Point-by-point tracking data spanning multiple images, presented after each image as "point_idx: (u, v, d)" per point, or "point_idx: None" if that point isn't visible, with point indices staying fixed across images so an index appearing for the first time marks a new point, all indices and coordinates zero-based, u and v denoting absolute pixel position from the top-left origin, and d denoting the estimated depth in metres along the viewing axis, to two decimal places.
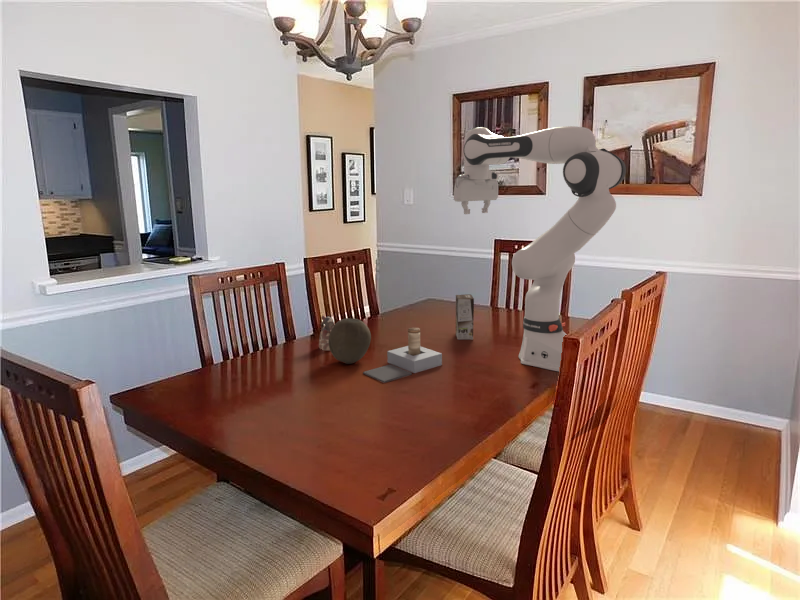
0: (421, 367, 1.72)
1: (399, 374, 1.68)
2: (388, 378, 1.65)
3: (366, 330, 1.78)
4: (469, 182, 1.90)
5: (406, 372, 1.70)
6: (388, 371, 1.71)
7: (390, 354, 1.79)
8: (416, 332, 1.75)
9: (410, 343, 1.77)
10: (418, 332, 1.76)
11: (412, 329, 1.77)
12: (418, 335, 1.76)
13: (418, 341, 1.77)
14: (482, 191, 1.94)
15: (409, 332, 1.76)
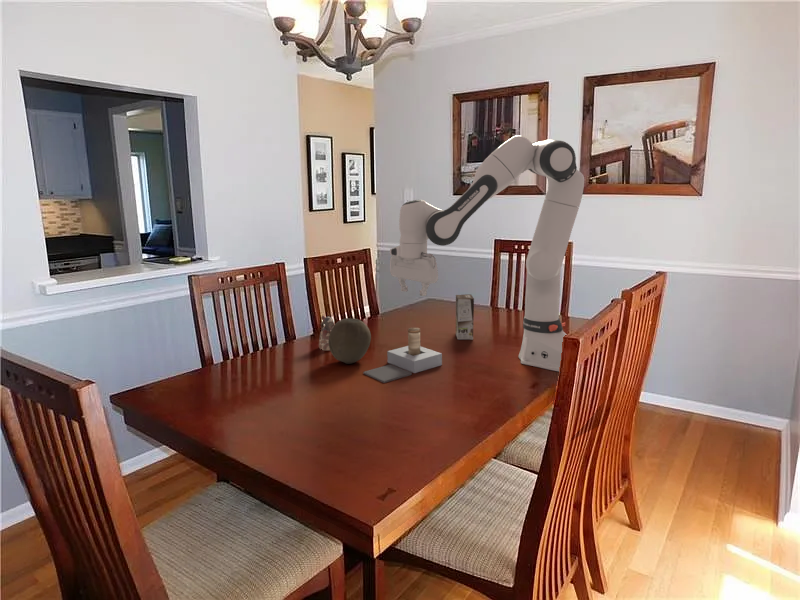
0: (421, 367, 1.72)
1: (399, 374, 1.68)
2: (388, 378, 1.65)
3: (366, 330, 1.78)
4: None
5: (406, 372, 1.70)
6: (388, 371, 1.71)
7: (390, 354, 1.79)
8: (416, 332, 1.75)
9: (410, 343, 1.77)
10: (418, 332, 1.76)
11: (412, 329, 1.77)
12: (418, 335, 1.76)
13: (418, 341, 1.77)
14: None
15: (409, 332, 1.76)
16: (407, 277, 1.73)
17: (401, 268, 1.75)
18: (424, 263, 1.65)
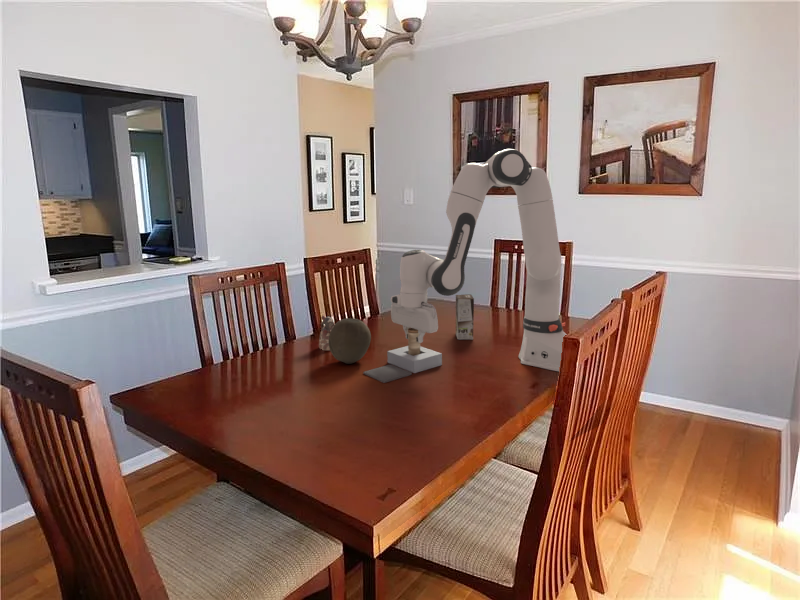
0: (421, 367, 1.72)
1: (399, 374, 1.68)
2: (388, 378, 1.65)
3: (366, 330, 1.78)
4: None
5: (406, 372, 1.70)
6: (388, 371, 1.71)
7: (390, 354, 1.79)
8: (416, 332, 1.75)
9: (410, 343, 1.77)
10: None
11: (412, 329, 1.77)
12: None
13: None
14: None
15: (409, 332, 1.76)
16: (407, 325, 1.77)
17: (401, 315, 1.78)
18: (425, 313, 1.69)
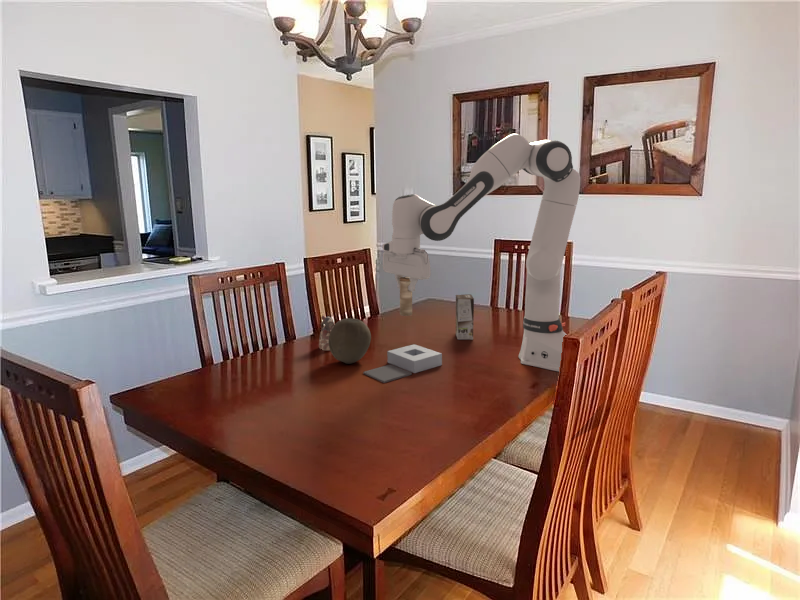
0: (421, 367, 1.72)
1: (399, 374, 1.68)
2: (388, 378, 1.65)
3: (366, 330, 1.78)
4: None
5: (406, 372, 1.70)
6: (388, 371, 1.71)
7: (390, 354, 1.79)
8: (408, 280, 1.69)
9: (402, 292, 1.71)
10: None
11: (404, 278, 1.70)
12: None
13: None
14: None
15: (400, 280, 1.70)
16: (399, 273, 1.70)
17: (393, 264, 1.72)
18: (417, 259, 1.63)
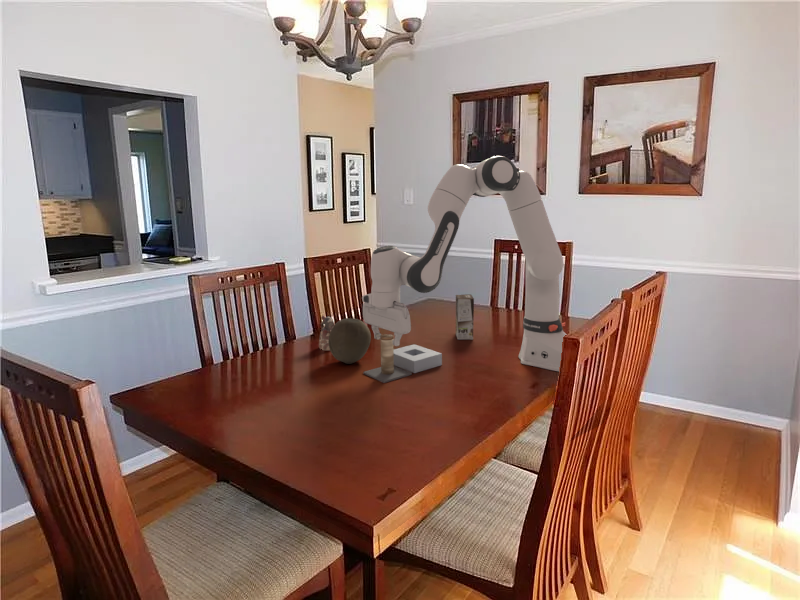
0: (421, 367, 1.72)
1: (399, 374, 1.68)
2: (388, 378, 1.65)
3: (366, 330, 1.78)
4: None
5: (406, 372, 1.70)
6: None
7: None
8: (388, 339, 1.66)
9: (382, 351, 1.67)
10: (391, 339, 1.66)
11: (385, 336, 1.67)
12: (391, 342, 1.67)
13: (391, 348, 1.67)
14: None
15: (381, 339, 1.67)
16: (379, 325, 1.67)
17: (373, 316, 1.68)
18: (396, 313, 1.59)
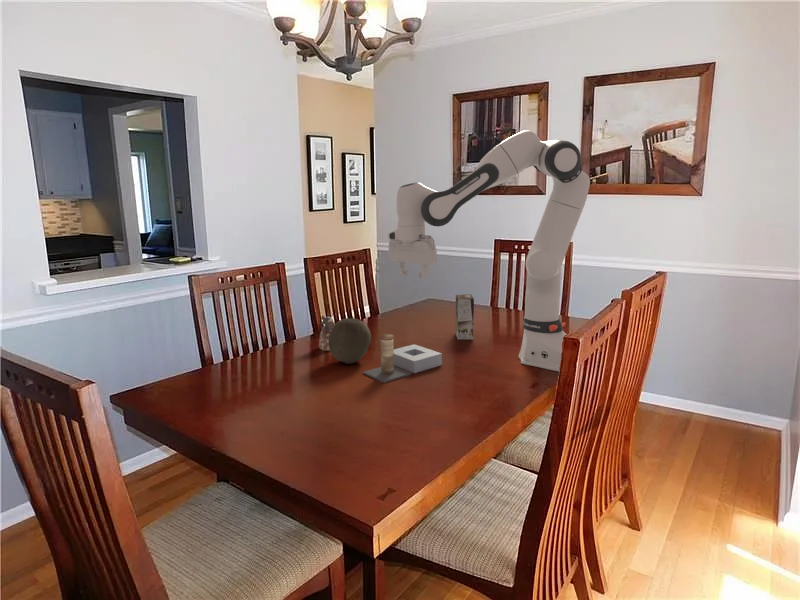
0: (421, 367, 1.72)
1: (399, 374, 1.68)
2: (388, 378, 1.65)
3: (366, 330, 1.78)
4: None
5: (406, 372, 1.70)
6: None
7: None
8: (388, 339, 1.66)
9: (382, 351, 1.67)
10: (391, 339, 1.66)
11: (385, 336, 1.67)
12: (391, 342, 1.67)
13: (391, 348, 1.67)
14: None
15: (381, 339, 1.67)
16: (406, 260, 1.74)
17: (399, 252, 1.76)
18: (423, 245, 1.66)
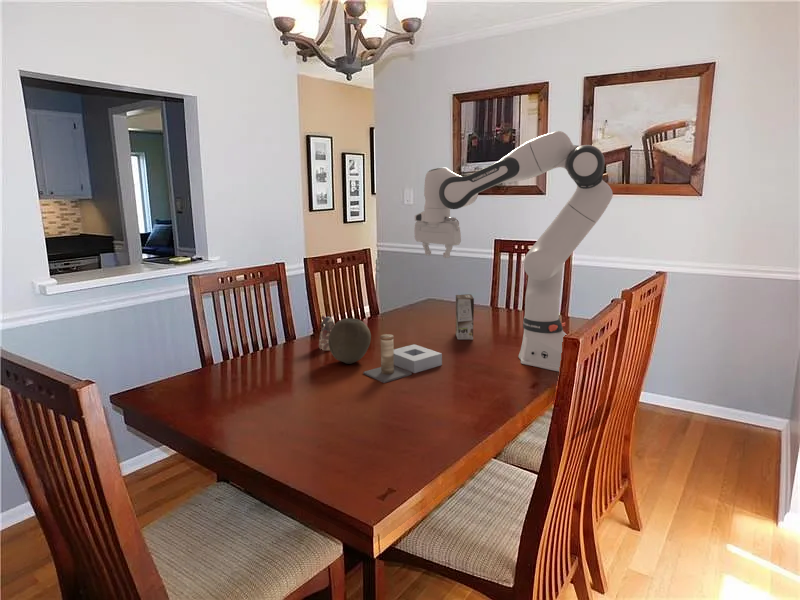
0: (421, 367, 1.72)
1: (399, 374, 1.68)
2: (388, 378, 1.65)
3: (366, 330, 1.78)
4: None
5: (406, 372, 1.70)
6: None
7: None
8: (389, 339, 1.66)
9: (382, 351, 1.67)
10: (391, 339, 1.66)
11: (385, 336, 1.67)
12: (391, 342, 1.67)
13: (391, 348, 1.67)
14: None
15: (381, 339, 1.67)
16: (431, 241, 1.85)
17: (425, 233, 1.87)
18: (448, 226, 1.78)
